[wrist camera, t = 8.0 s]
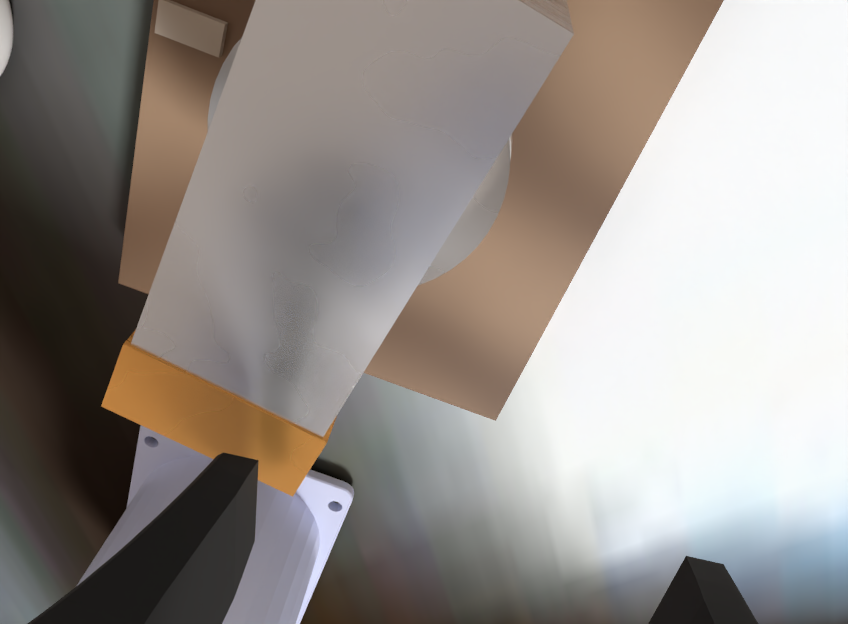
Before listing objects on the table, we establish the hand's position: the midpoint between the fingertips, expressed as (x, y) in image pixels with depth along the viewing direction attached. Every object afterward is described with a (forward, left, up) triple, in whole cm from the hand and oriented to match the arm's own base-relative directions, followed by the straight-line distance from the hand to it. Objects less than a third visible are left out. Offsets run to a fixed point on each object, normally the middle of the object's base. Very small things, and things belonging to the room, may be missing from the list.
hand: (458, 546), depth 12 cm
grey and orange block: (+4, +4, -6) cm, 8 cm away
